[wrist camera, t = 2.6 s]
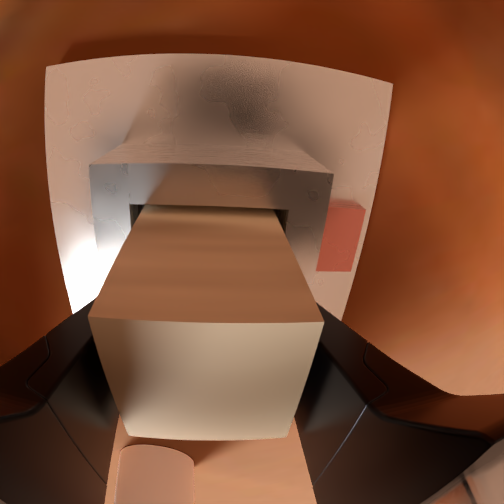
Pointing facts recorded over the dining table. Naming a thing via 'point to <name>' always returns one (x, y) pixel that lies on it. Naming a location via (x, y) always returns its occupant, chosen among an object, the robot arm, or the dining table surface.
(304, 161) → the sleeve stand
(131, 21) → the dining table surface
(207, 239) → the post
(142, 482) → the cylindrical container
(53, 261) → the dining table surface
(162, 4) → the dining table surface
